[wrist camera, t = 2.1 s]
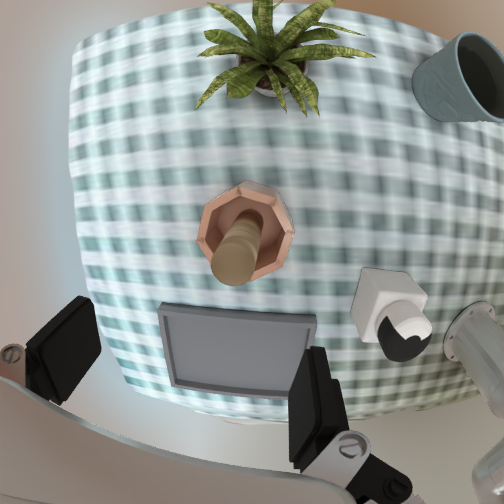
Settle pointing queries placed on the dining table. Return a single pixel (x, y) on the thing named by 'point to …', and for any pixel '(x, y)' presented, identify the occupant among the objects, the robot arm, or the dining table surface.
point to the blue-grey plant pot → (462, 81)
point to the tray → (234, 349)
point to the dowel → (238, 249)
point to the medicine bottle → (391, 313)
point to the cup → (274, 227)
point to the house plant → (274, 53)
